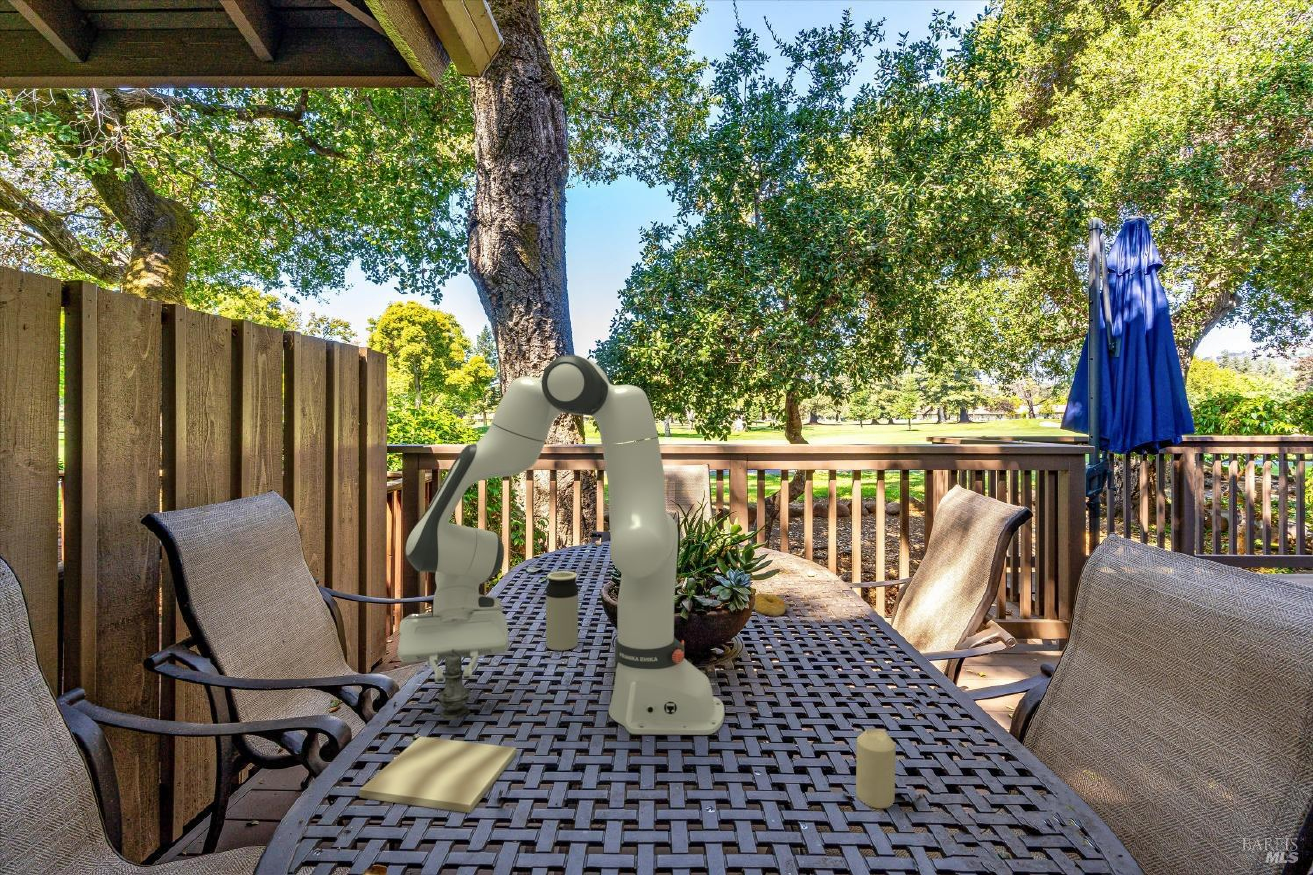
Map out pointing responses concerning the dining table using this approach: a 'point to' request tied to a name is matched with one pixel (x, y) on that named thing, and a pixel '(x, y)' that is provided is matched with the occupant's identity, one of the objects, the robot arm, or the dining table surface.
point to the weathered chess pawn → (453, 689)
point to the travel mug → (561, 611)
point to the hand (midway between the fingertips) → (453, 678)
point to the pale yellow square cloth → (440, 774)
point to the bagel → (769, 605)
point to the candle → (875, 769)
